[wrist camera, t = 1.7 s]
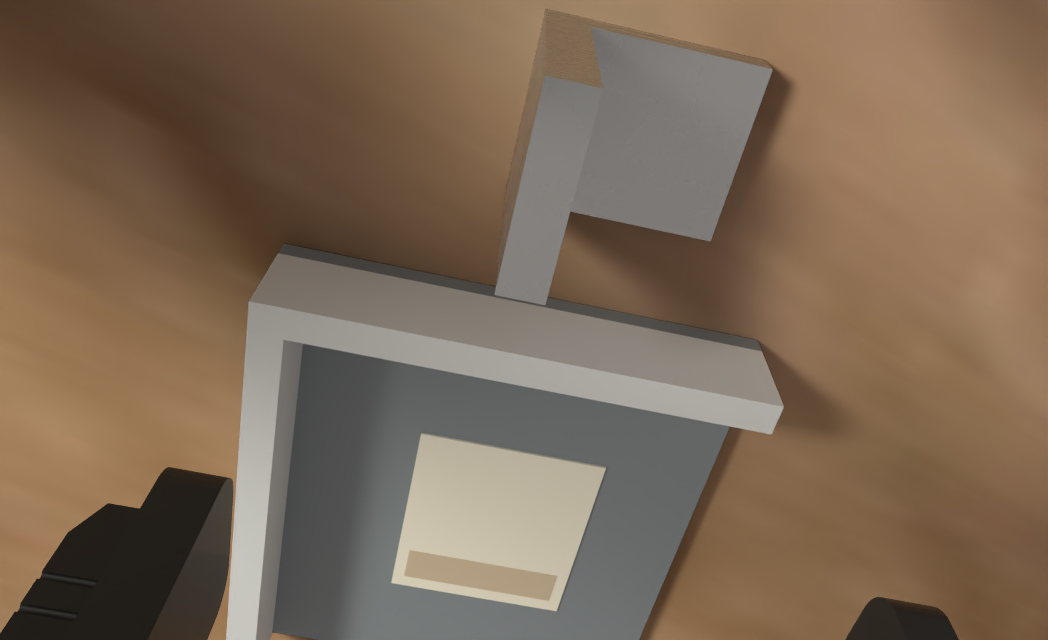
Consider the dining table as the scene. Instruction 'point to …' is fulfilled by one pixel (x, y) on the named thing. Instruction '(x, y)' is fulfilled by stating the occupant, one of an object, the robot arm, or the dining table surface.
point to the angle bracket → (621, 140)
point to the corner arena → (468, 456)
